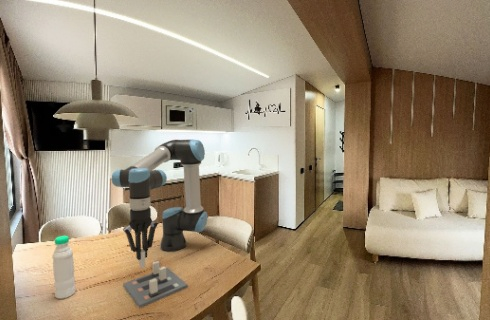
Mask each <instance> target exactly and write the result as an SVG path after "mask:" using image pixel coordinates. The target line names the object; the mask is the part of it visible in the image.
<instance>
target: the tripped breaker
mask: <svg viewBox="0 0 490 320" xmlns="http://www.w3.org/2000/svg"><path fill="white" fill-rule="evenodd" d="M149 290H150V292H149V295H150V296H151V297H152V296H154V295H157V294H158V287H157V279H156V278H154V279H152V280H149Z"/></svg>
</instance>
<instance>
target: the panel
mask: <svg viewBox="0 0 490 320" xmlns="http://www.w3.org/2000/svg"><path fill="white" fill-rule="evenodd" d="M152 273H153V272H151V273H149V274H146V275H144V276H140V277H138V278H135V279H132V280H129V281H126V282H124V283H123V284H122V286H123V288H124V289H125V291H126V292H127V294H128V295H129V296H130V298H131V299H132V300H133V302H134V303H135V305H136V306H137V307H138V308H139V309H141V308H143V307H146V306H148V305H150V304H153V303H155V302H157V301H159V300H162V299H164V298H166V297H168V296H171V295H173V294H175V293H177V292H180V291H183V290H184V289H187V288H188V287H189V286H188V284H187V282H185V281H184V280H183V279H182V278H181V277H179V276H178V275H177V274H176V273H174V272H173V270H171V269H170V268H169V267H166V278H167V281H164V282H162V283H160V282H159V281H158V279H159V275H157V276H155V277H154V276H153V275H152ZM154 278H156V279H157V287H158V294H157V295H154V296H152V297H151V296H150V295H149V292H150V290H149V280H152V279H154Z"/></svg>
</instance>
